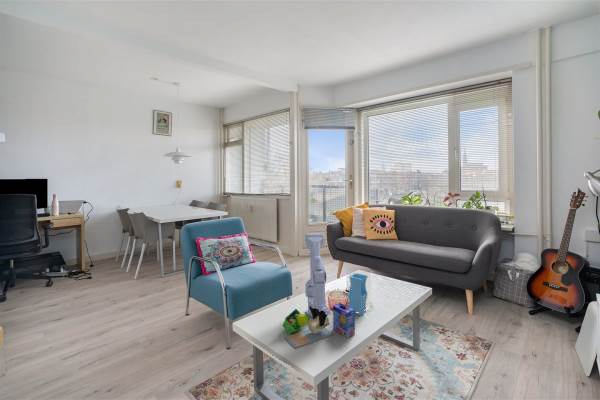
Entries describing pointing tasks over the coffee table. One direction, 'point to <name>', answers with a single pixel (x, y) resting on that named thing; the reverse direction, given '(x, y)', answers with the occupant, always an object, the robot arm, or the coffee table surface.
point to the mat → (307, 337)
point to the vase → (358, 293)
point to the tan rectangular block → (317, 325)
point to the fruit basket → (295, 321)
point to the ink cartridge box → (344, 319)
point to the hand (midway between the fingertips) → (318, 323)
